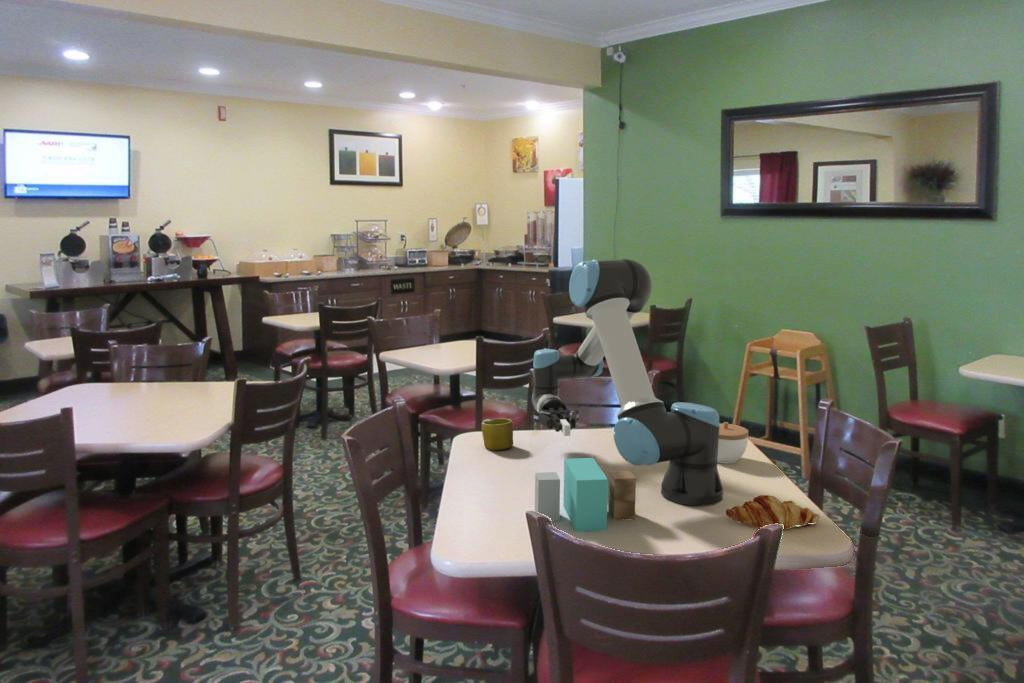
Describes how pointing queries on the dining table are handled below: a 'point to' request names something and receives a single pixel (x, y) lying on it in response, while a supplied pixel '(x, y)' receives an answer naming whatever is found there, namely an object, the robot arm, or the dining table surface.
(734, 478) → the dining table surface
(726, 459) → the lidded bowl
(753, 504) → the croissant
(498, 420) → the mug
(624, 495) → the walnut block
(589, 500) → the teal block
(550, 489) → the grey block
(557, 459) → the dining table surface
